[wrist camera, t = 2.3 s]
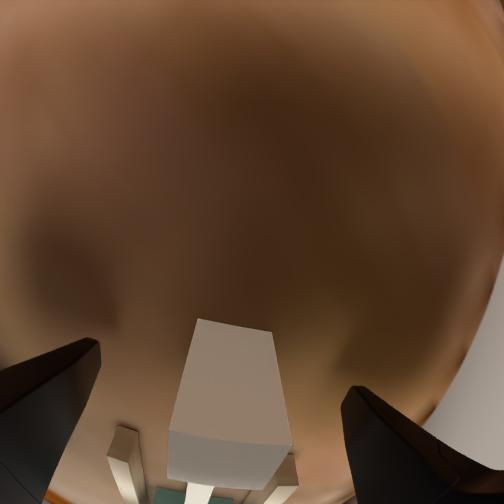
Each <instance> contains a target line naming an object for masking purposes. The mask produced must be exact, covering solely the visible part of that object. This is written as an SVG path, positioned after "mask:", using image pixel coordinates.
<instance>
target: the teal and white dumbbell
mask: <svg viewBox="0 0 504 504" xmlns="http://www.w3.org/2000/svg"><path fill="white" fill-rule="evenodd" d="M292 446H293V444H292V438H291V433H290V427H289V422H288V416H287V411H286V406H285V400H284V395H283V389H282V384H281V379H280V373H279V368H278V363H277V357H276V352H275V347H274V341H273V336H272V332H268V331H262V330H256V329H251V328H245V327H239V326H234V325H229V324H224V323H219V322H214V321H209V320H204V319H199V318H198V320H197V323H196V327H195V330H194V334H193V338H192V341H191V345H190V348H189V352H188V356H187V359H186V363H185V367H184V371H183V374H182V378H181V382H180V386H179V390H178V394H177V398H176V402H175V406H174V410H173V414H172V418H171V422H170V426H169V431H168V459H167V478H169V479H173V480H178V481H183V482H188V484H187V491H186V493H184V492H179V491H174V490H169V489H165V488H160V487H157V490H156V494H155V499H154V504H233V499H227V498H217V497H210V496H211V493H212V491H213V488H214V487H223V488H233V489H246V490H263V489H264V487H265V486H266V485H267V483H268V482H269V480H270V479H271V478H272V476H273V475H274V473H275V472H276V470H277V469H278V467H279V466H280V465H281V463H282V462H283V460H284V458H285V457H286V455H287V454H288V452H289V451H290V449H291V448H292Z"/></svg>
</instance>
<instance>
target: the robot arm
mask: <svg viewBox="0 0 504 504" xmlns="http://www.w3.org/2000/svg"><path fill="white" fill-rule="evenodd" d="M100 367H101V352H100V343H99V342H98V341H97V340H95V339H92V338H89V337H86V338H83V339H81V340H78V341H76V342H73V343H71V344H68V345H65V346H63V347H60V348H58V349H55V350H53V351H50V352H47V353H45V354H42V355H40V356H37V357H34V358H32V359H29V360H26V361H24V362H21V363H19V364H16V365H13V366H10V367H8V368H5V369H2V370H0V504H41V503H42V502H43V499H44V496H45V494H46V491H47V489H48V486H49V484H50V481H51V479H52V477H53V474H54V472H55V470H56V467H57V465H58V463H59V460H60V458H61V456H62V454H63V452H64V449H65V447H66V445H67V443H68V441H69V439H70V437H71V435H72V433H73V430H74V428H75V426H76V424H77V422H78V420H79V418H80V416H81V414H82V412H83V410H84V408H85V406H86V404H87V401H88V399H89V396H90V393H91V391H92V388H93V385H94V383H95V380H96V378H97V375H98V373H99V370H100ZM341 416H342V424H343V432H344V441H345V447H346V452H347V457H348V461H349V465H350V470H351V474H352V479H353V484H354V489H355V493H356V498H357V503H358V504H504V470H494V469H490V468H488V467H486V466H484V465H482V464H480V463H478V462H476V461H474V460H472V459H470V458H468V457H466V456H465V455H463V454H461V453H459V452H457V451H456V450H454V449H452V448H451V447H449V446H448V445H446V444H445V443H443V442H442V441H440V440H439V439H437V438H436V437H434V436H433V435H431V434H430V433H428V432H427V431H426V430H424V429H423V428H421V427H420V426H418V425H417V424H416V423H414V422H413V421H411V420H410V419H409V418H407V417H406V416H404V415H403V414H401V413H400V412H399V411H397V410H396V409H395V408H393V407H392V406H390V405H389V404H388V403H386V402H385V401H384V400H382V399H381V398H379V397H378V396H377V395H375V394H374V393H373V392H371V391H370V390H369V389H367V388H366V387H365V386H352V387H351V388H350V389H349V391H348V393H347V394H346V396H345V398H344V400H343V401H342V404H341Z"/></svg>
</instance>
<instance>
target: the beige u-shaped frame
mask: <svg viewBox="0 0 504 504" xmlns="http://www.w3.org/2000/svg"><path fill="white" fill-rule="evenodd" d="M107 458H108V461H109V464H110V467H111V470H112V473H113V475H114V478H115V481H116V483H117V486H118V488H119V491H120V493H121V495H122V498H123V500H124V502H125V504H149V502H148V497H147V492H146V486H145V480H144V474H143V468H142V461H141V454H140V446H139V437H138V432H137V431H134V430H131V429H127V428H124V427H121V426H118V428H117V431H116V433H115V436H114V438H113V441H112V443H111V446H110V448H109V451H108V453H107ZM298 486H299V483H298V477H297V472H296V466H295V460H294V455H286V457H285V458H284V460H283V462H282V463H281V465H280V466H279V467H278V469H277V470H276V472H275V473H274V475H273V476H272V478H271V479H270V480H269V482H268V483H267V485H266V486H265V487H264V489H263V490H251V492H250V493H249V495H248V496H247V498H246V499H245V501H244V502H243V503H242V504H282V503H283V502H284V501H285V500H286V499H287V498H288V497H289V496H290V495H291V494H292V493H293V492H294V491H295V490H296V489H297V488H298Z"/></svg>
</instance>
